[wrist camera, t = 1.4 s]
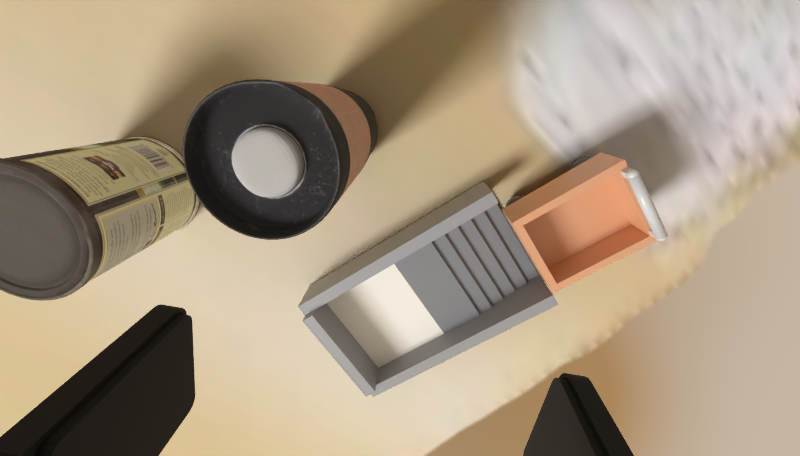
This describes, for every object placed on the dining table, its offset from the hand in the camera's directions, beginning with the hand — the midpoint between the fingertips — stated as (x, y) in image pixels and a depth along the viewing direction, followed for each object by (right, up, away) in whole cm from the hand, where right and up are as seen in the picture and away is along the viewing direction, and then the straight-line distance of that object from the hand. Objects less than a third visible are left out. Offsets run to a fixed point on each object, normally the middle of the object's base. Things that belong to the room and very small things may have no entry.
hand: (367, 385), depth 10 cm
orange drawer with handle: (+17, +6, +28) cm, 34 cm away
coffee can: (-25, +8, +29) cm, 39 cm away
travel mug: (-5, +14, +27) cm, 30 cm away
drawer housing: (+4, -2, +32) cm, 32 cm away
